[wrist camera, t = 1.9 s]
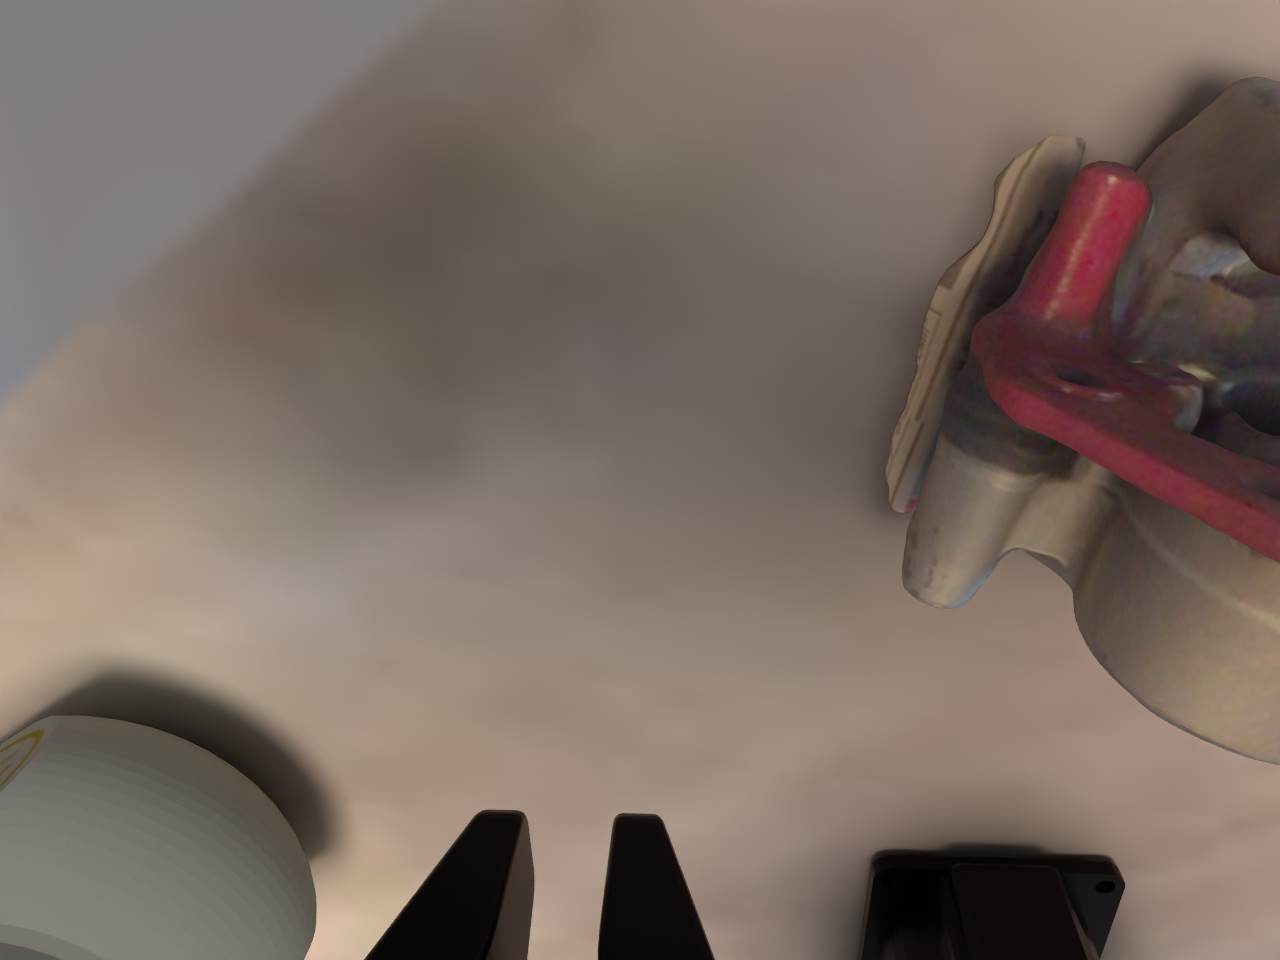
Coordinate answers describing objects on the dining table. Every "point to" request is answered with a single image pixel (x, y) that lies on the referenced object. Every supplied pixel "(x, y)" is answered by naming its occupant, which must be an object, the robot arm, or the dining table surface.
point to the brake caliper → (1120, 412)
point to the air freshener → (142, 851)
